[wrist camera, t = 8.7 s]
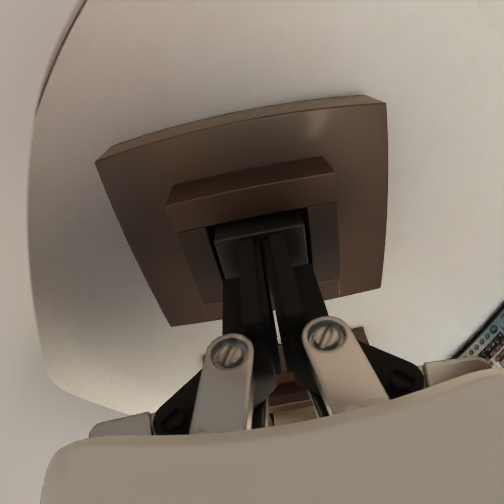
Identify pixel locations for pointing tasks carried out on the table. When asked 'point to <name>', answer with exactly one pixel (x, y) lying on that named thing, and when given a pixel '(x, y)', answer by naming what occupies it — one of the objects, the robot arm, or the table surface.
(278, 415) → the key ivory
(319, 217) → the key block
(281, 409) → the key block
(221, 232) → the key ebony
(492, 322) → the synthesizer keyboard
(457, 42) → the table surface
